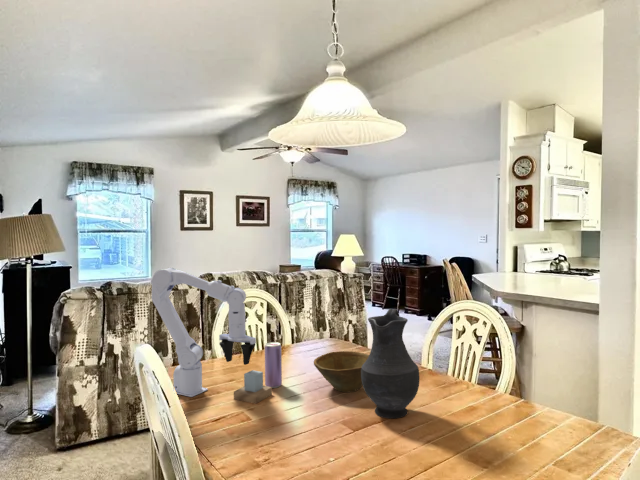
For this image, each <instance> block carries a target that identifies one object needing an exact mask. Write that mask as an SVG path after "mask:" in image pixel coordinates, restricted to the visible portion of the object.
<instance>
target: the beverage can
mask: <svg viewBox="0 0 640 480" xmlns="http://www.w3.org/2000/svg"><path fill="white" fill-rule="evenodd" d="M281 344H282V343H280V342H277V341H276V342H275V341H270V342H267V343H265V344H264V386H268V387H272V389H276V388H280V387H281V386H282V384H283V380H282V378H283V375H282V374H283V373H282V370H283V366H282V364H283V363H282V359H283V358H282V345H281Z"/></svg>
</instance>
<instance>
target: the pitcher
mask: <svg viewBox="0 0 640 480" xmlns="http://www.w3.org/2000/svg"><path fill="white" fill-rule="evenodd" d="M367 321H368V322H369V324H370V327H371V330H372V344H371V348H370V352H369V354H368V355H369V357H368V359H367V360H366V362H365V363H364V364H363V365H362V367H361V380H362V387H363V390H364V392H365V394H366V395H367V397H368V398H369V399H370V400H371V401H372V402H373V404H375V406H376V407H375V409H374V413H375V415H377V416H378V417H380V418H386V419H399V418H403V417H405V416H407V415H408V409H407V407H408V406H409V405H410V404H411V403H412V401H413V400H414V399H415V398H416V396H417V394H418V391H419V388H420V369H419V367H418V364H416V362H415V361H414V360H413V359H412V358H411V356H410V354H409V352H408V350H407V347H406V344H405V342H404V339H403V334H404V328H405V326H406V324H407V323H408V319H407V318H405V317H403V316H400V313H399V311H398V309H397V308H396V309H395V308H394V309H393V308H389V309H388V310H387V311H386V313H385V314H384V315H376V316H370V317H368V318H367Z"/></svg>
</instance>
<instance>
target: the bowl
mask: <svg viewBox="0 0 640 480" xmlns="http://www.w3.org/2000/svg"><path fill="white" fill-rule="evenodd" d="M369 355H370V354H368V353H363V352H359V351H353V350H352V351H350V350H349V351H347V350H346V351H345V350H339V351H330V352H326V353H323V354H321V355H319V356H317V357H316V358H315V359H314V361H313V365H314V367H315V369H317V371H318V372H319V373H320V374H321V376H322V377H323V378H324V379H325V380H326V381H327V382H328V383H329V384H330V385H331V386H332V387H333V389H335V390H336V391H338V392H342V393H352V392H357V391H358V390H360V388H361V387H363V385H362V380H361V367H362V365H363V364H364V363H365V362H366V360H367V359H368V357H369Z"/></svg>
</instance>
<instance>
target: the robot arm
mask: <svg viewBox="0 0 640 480" xmlns="http://www.w3.org/2000/svg"><path fill="white" fill-rule="evenodd" d="M150 284H151V301H152V303H153V305H154V306H155V308H156V310H157V312H158V314H159V316H160V317H161V320H162V323H164V326H165V327H166V329H167V330H168V332H169V334H170V337H171V338H172V340H173V343H174V344H175V353H176V355H177V361H178V364H179V365H177V366H176V367H175V368H174V371H173V376H172V377H173V380H172V381H173V388H174V387H175V390H176V392H177V394H176V395H180V396H181V395H182V396H184V397H189V398H192V397H196V396H197V395H200V394H202V393H203V392H206V391H208V390H209V389H208V388H207V387H203V364H202V362H201V360H202V358H203V356H204V350H203V348H202V347H201V345H200V344H198V343H197V342H196V340H195V339H194V338H193V337H191V336H190V334H189V332H188V330H187V329H186V327H185V325H184V323H183V321H182V319H181V318H180V316H179V313H178V312H177V310H176V308H175V306H174V304H173V302H172V301H171V299H170V295H171V292H172V290H173V288H174V287H175V286H176V285H183V284H184V285H187V286H190V287H194V288H196V289H199V290H202V291H205V293H206V294H207V295H208V297H210V298H214V299H216V300H219V301H221V302H224V303H227V304H228V333H221V334H219V341H220V342H219V346H220V347H221V349H222V352H223V353H224V358H225V360H226V363H229V362H232V361H233V348H234V347H233V346H234V343H235V342H236V343H241V345H240V348H241V353H242V362H243V365H245V366H246V365H248V364H250V360H251V356H252V353H253V350H254V348H255V347H256V343H257V339H256V338H257V337H253V336H250V335H247V334H246V330H247V329H246V309H245V308H246V304H245V301H246V299H247V294H246V292H245V291H244V289H242V288H241V287H235V286H234V285H229V284H226V283H223V281H222V280H220V279H218V280H212V281H208V280H206V279H204V278H201V277H198V276H196V275H194V274H192V273H189V272H187V271H184V270H181V269H176V268H174V267H167V268H164V269H163V268H162V269H159V270H156V271H155V272H154V274H153V275H152V278H151V280H150Z"/></svg>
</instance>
